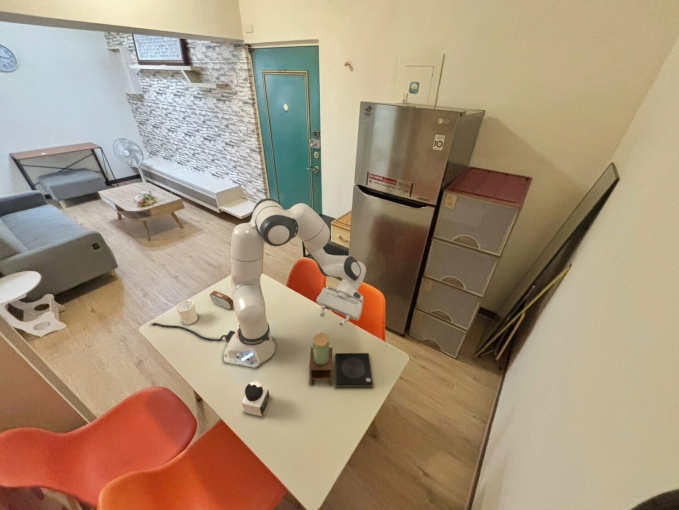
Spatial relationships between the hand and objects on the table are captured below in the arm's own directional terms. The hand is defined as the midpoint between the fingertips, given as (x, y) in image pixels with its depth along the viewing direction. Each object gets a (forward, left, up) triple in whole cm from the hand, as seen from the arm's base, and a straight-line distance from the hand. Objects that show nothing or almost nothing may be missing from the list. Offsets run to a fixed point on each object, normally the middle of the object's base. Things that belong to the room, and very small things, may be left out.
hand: (331, 320), depth 109 cm
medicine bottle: (-28, -23, -22) cm, 42 cm away
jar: (-4, -10, -10) cm, 15 cm away
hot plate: (+10, -9, -21) cm, 25 cm away
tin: (-58, +30, -21) cm, 69 cm away
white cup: (-72, +20, -22) cm, 78 cm away
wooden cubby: (-4, -10, -21) cm, 24 cm away
